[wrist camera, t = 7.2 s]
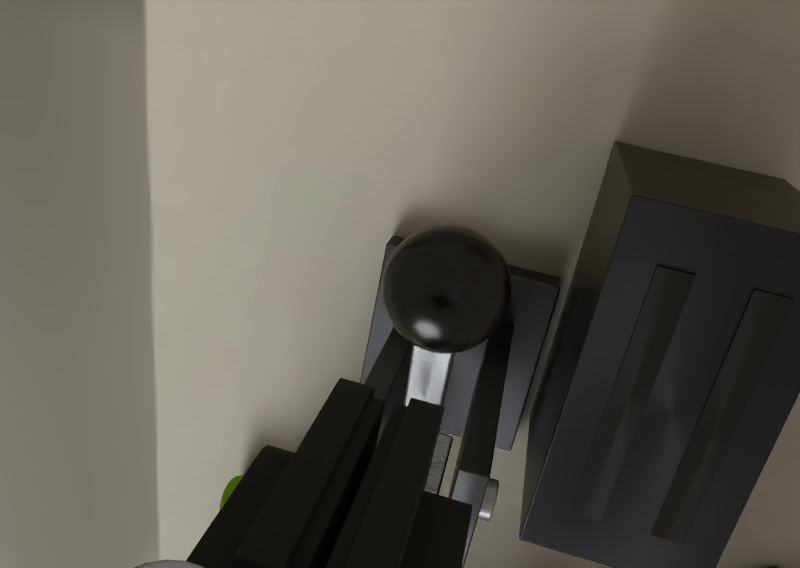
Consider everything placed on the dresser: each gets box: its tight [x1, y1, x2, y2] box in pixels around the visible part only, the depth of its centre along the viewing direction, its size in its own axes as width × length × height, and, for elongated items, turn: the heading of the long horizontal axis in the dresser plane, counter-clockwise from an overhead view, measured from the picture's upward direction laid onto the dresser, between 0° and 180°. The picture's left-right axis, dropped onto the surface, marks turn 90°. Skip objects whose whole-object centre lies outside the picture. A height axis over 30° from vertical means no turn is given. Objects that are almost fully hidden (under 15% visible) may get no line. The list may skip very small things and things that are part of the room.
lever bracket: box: [360, 236, 560, 568], centre depth 30 cm, size 9×8×13 cm
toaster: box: [519, 141, 800, 568], centre depth 29 cm, size 14×7×9 cm, turn 169°
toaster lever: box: [382, 224, 512, 495], centre depth 22 cm, size 13×3×3 cm, turn 170°
